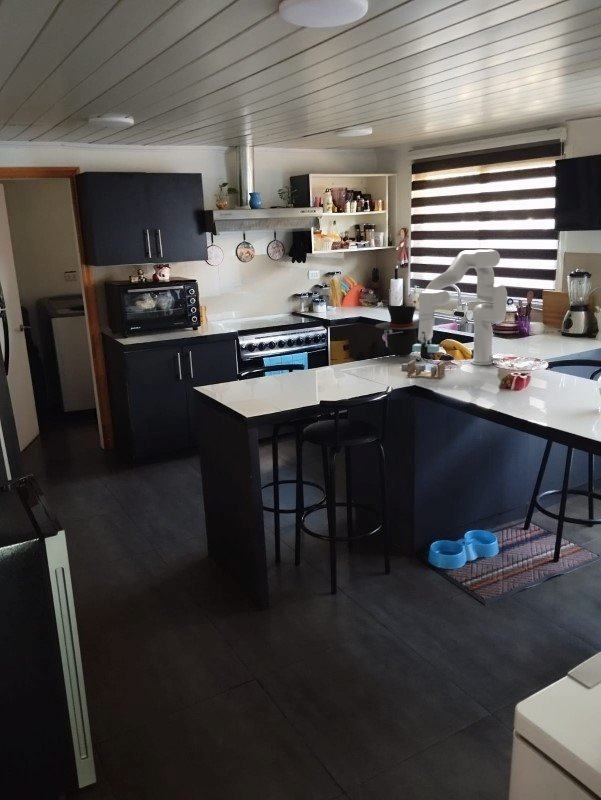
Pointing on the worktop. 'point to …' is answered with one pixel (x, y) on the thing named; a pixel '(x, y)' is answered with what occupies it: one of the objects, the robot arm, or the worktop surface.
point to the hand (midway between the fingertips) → (425, 352)
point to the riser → (423, 367)
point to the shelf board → (430, 348)
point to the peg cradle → (435, 373)
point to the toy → (400, 330)
